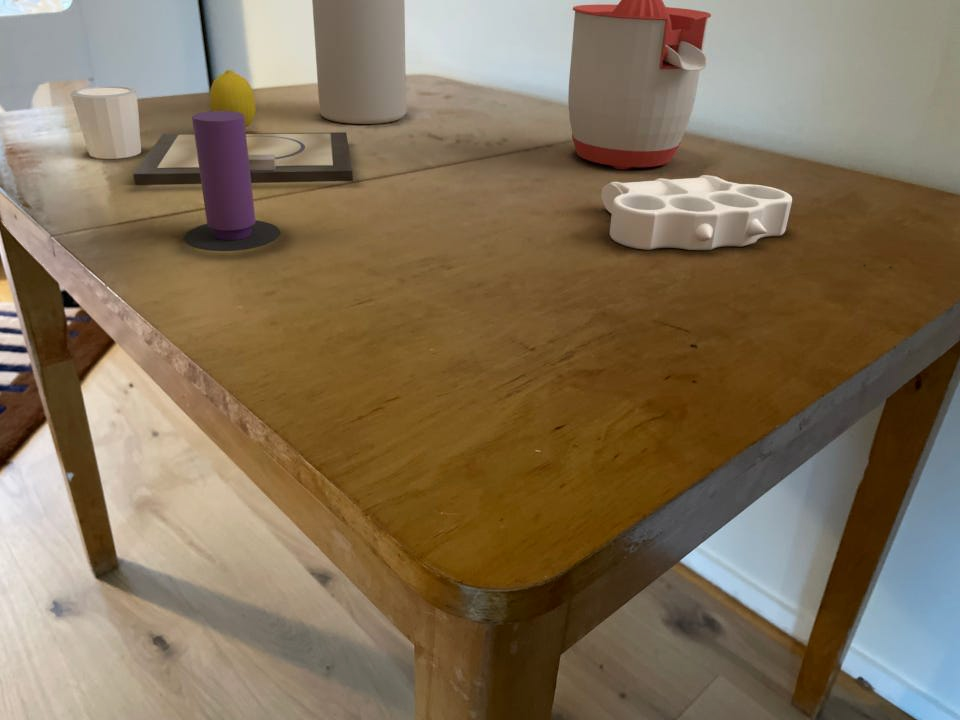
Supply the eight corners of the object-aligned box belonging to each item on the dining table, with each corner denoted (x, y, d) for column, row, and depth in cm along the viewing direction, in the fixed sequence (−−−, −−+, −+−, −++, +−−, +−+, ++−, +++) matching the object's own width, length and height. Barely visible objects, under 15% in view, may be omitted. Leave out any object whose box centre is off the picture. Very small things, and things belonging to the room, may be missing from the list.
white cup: (69, 155, 90) (56, 92, 86) (113, 143, 95) (102, 83, 92) (117, 163, 88) (105, 98, 84) (159, 149, 94) (149, 89, 90)
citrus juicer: (628, 186, 86) (653, -14, 77) (535, 150, 99) (547, -25, 89) (725, 169, 94) (759, -15, 84) (627, 139, 107) (647, -24, 97)
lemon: (264, 136, 101) (258, 71, 97) (222, 141, 98) (214, 74, 94) (249, 128, 105) (243, 65, 101) (208, 132, 102) (200, 68, 98)
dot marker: (206, 242, 66) (188, 121, 61) (211, 227, 69) (195, 111, 64) (255, 241, 66) (241, 120, 61) (258, 225, 70) (245, 110, 65)
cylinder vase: (404, 108, 120) (401, -78, 108) (408, 125, 110) (405, -79, 98) (321, 107, 119) (309, -81, 107) (317, 125, 108) (303, -82, 96)
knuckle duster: (722, 198, 83) (818, 244, 71) (570, 211, 78) (646, 264, 66) (728, 166, 82) (827, 209, 70) (573, 177, 76) (651, 225, 64)
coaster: (178, 256, 64) (177, 252, 63) (191, 224, 71) (190, 220, 70) (279, 253, 65) (278, 248, 65) (282, 222, 72) (281, 218, 72)
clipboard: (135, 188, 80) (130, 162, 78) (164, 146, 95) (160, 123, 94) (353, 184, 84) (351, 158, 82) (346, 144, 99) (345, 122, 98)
